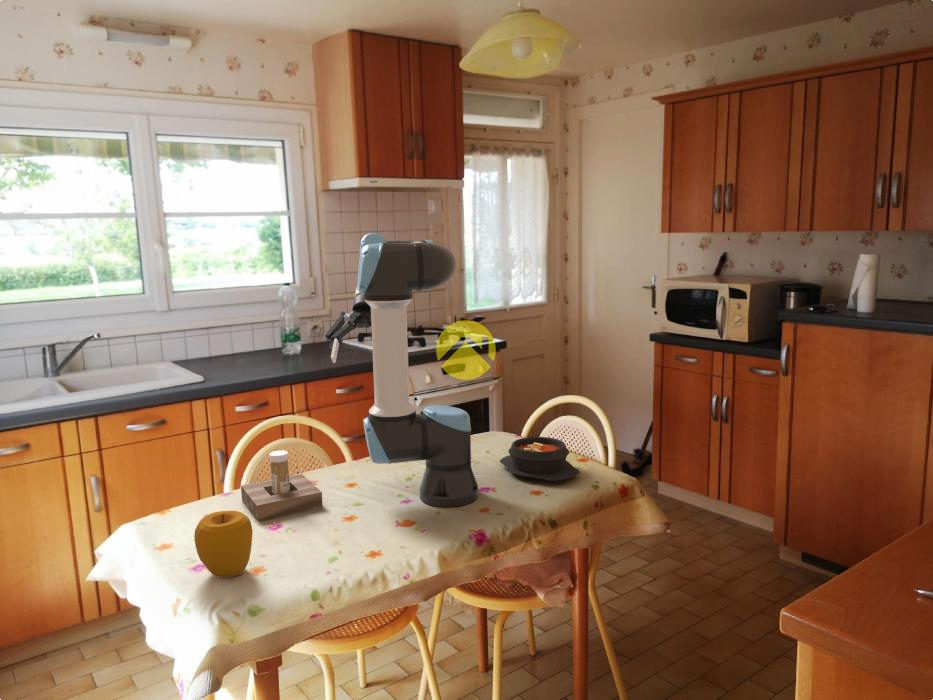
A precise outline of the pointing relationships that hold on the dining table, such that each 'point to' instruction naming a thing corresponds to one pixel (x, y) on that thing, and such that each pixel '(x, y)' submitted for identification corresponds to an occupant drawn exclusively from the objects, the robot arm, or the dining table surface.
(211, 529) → the apple
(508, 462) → the casserole
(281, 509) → the frame
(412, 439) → the robot arm
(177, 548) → the dining table surface
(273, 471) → the sprinkles bottle
